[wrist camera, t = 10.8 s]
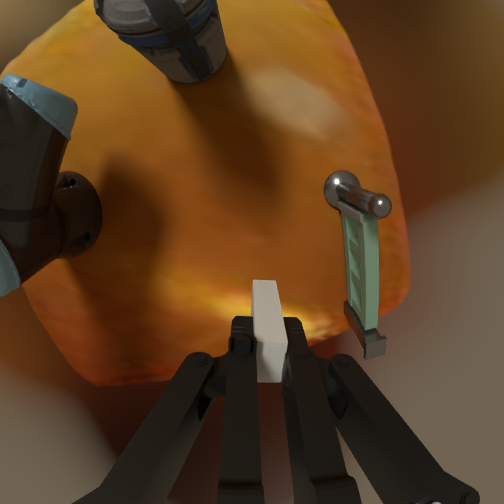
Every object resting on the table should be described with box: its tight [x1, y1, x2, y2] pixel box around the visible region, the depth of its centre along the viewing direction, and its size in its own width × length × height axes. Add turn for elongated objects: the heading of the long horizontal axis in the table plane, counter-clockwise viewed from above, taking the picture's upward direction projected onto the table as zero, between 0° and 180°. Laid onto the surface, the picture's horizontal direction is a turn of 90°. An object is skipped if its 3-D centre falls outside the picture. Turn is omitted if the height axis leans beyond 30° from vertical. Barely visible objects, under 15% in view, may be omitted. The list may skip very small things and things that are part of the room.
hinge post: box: [324, 170, 392, 219], centre depth 33 cm, size 6×6×15 cm
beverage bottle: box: [94, 0, 227, 84], centre depth 21 cm, size 10×13×25 cm
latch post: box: [344, 301, 387, 360], centre depth 41 cm, size 3×3×13 cm
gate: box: [338, 201, 379, 330], centre depth 38 cm, size 17×3×9 cm, turn 11°
